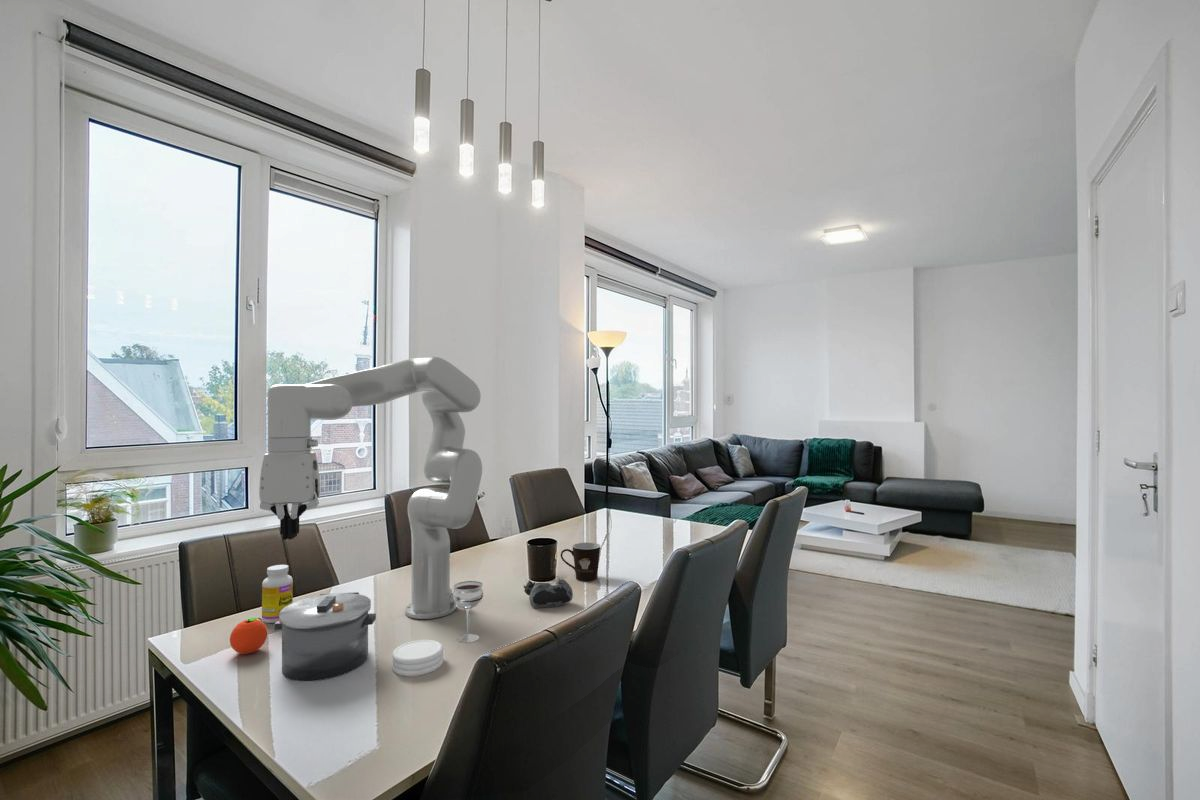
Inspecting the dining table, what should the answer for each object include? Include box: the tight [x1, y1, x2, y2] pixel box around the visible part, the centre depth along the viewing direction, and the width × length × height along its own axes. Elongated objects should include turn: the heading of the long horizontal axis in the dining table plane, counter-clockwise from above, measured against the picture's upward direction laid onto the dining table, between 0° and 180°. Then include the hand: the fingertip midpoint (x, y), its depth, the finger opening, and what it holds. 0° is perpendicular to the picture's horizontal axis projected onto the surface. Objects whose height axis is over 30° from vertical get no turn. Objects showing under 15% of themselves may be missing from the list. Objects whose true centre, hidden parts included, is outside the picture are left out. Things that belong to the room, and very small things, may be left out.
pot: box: [274, 612, 377, 682], centre depth 117 cm, size 19×16×10 cm
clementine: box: [229, 617, 268, 655], centre depth 122 cm, size 8×7×7 cm
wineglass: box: [452, 580, 484, 644], centre depth 129 cm, size 7×7×12 cm
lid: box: [279, 591, 372, 629], centre depth 117 cm, size 18×17×2 cm
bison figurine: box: [523, 578, 574, 609], centre depth 152 cm, size 12×7×10 cm
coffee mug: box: [560, 541, 601, 583], centre depth 174 cm, size 12×9×10 cm
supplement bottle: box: [261, 564, 294, 624], centre depth 140 cm, size 7×7×13 cm
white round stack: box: [391, 639, 444, 677], centre depth 115 cm, size 10×10×4 cm
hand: (289, 537), depth 113 cm, fingers closed
